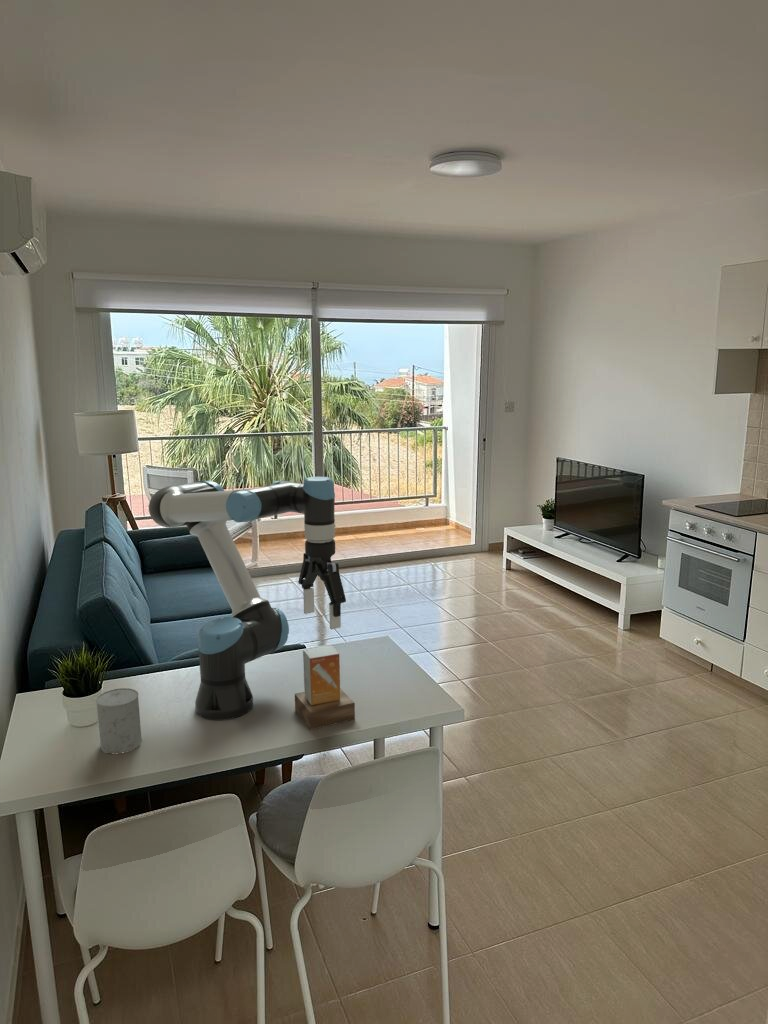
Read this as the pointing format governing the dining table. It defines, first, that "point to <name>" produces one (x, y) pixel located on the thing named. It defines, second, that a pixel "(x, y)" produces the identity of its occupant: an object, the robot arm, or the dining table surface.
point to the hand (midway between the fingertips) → (321, 620)
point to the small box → (321, 674)
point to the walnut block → (325, 710)
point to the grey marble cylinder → (119, 720)
